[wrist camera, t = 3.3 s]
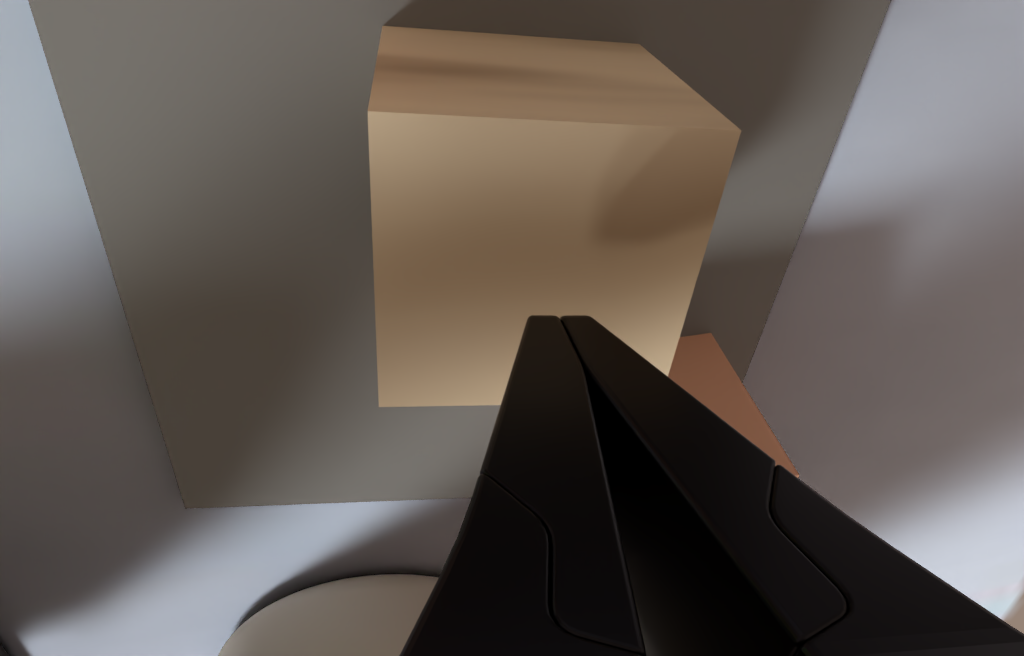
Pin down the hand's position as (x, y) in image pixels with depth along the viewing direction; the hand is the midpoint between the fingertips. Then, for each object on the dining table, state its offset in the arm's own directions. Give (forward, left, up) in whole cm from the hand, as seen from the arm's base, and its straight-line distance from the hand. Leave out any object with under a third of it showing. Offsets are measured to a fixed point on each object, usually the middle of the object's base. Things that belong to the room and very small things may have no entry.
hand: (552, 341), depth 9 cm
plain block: (0, 0, -6) cm, 6 cm away
